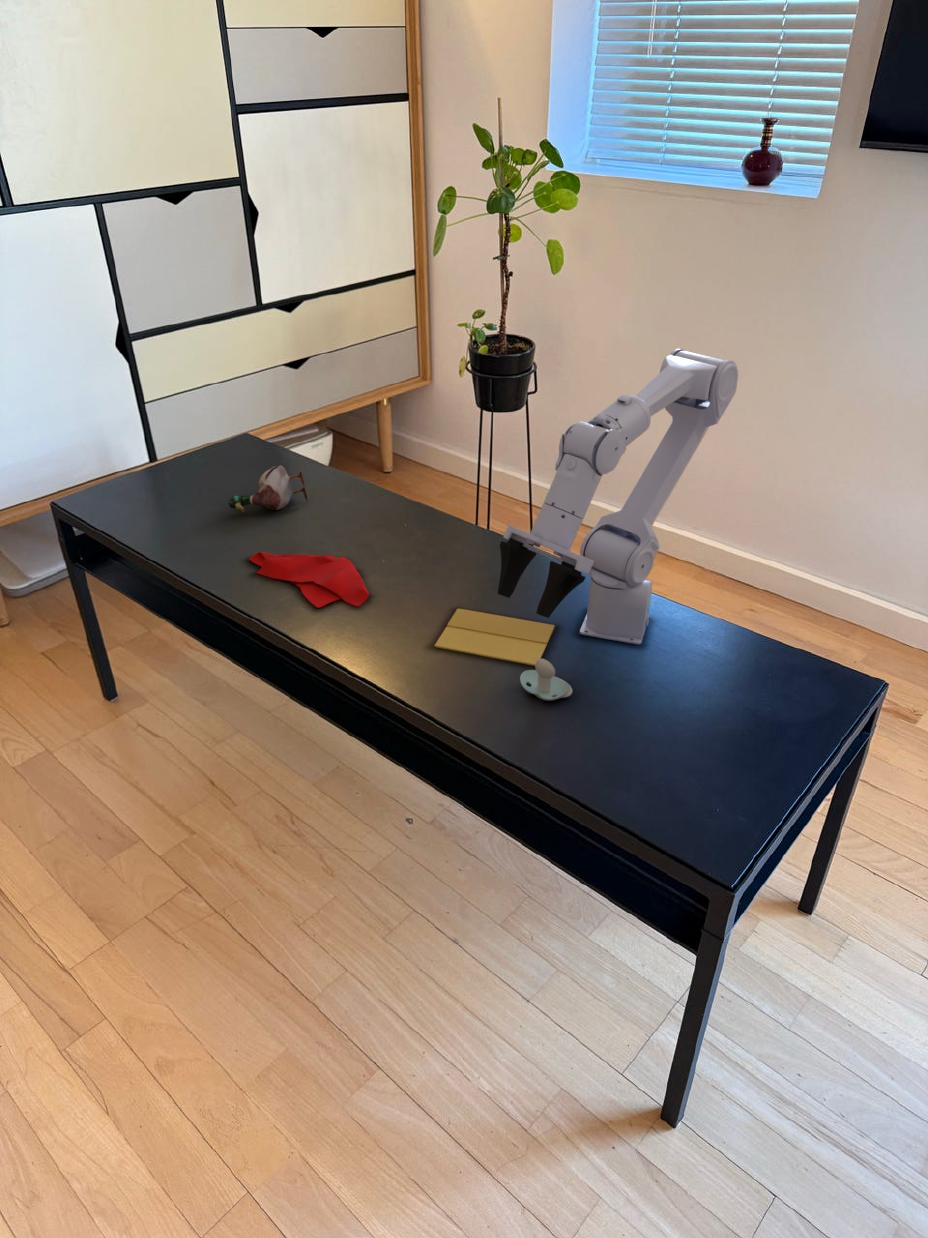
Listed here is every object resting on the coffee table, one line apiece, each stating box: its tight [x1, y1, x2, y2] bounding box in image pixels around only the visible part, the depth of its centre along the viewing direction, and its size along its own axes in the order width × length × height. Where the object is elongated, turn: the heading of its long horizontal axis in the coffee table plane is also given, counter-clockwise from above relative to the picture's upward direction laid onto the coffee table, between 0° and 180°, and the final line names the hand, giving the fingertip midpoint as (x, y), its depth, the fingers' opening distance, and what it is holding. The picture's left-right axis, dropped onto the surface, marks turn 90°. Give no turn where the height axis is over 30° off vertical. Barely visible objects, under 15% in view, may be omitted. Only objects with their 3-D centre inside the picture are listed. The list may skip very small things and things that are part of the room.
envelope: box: [433, 608, 556, 667], centre depth 136 cm, size 16×11×1 cm
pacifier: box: [519, 658, 573, 702], centre depth 123 cm, size 7×6×6 cm
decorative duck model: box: [227, 464, 309, 513], centre depth 175 cm, size 15×8×15 cm
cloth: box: [249, 551, 370, 609], centre depth 152 cm, size 26×14×2 cm, turn 45°
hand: (522, 605), depth 119 cm, fingers open, 7 cm apart
